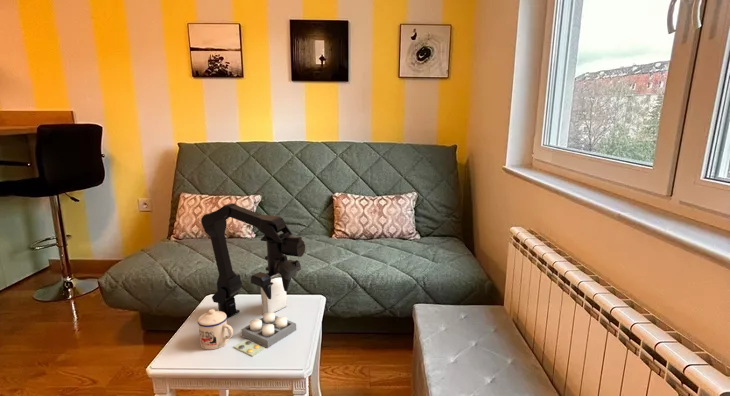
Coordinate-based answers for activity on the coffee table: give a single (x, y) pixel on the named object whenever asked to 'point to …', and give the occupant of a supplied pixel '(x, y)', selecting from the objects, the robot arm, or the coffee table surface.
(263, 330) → the button
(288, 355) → the coffee table surface
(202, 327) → the teacup with lid
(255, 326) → the button
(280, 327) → the button
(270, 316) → the button
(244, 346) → the lights out board
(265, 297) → the photo printer
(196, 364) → the coffee table surface
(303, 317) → the coffee table surface
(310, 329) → the coffee table surface
